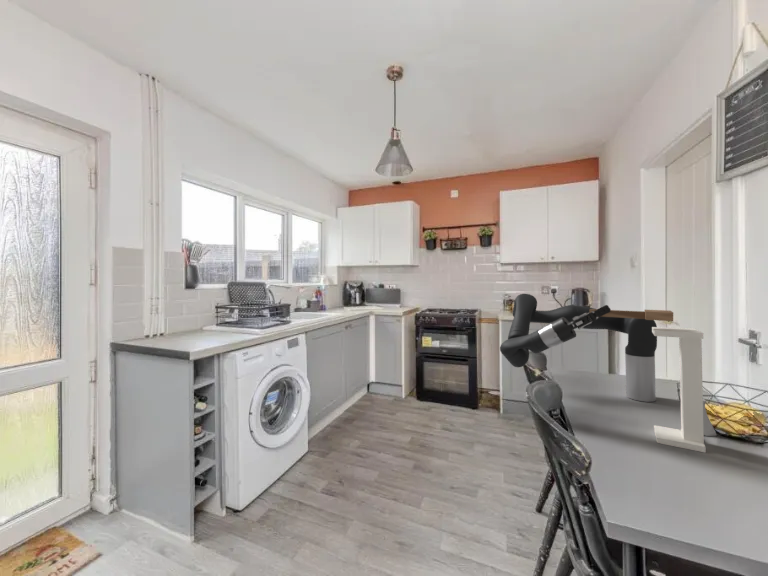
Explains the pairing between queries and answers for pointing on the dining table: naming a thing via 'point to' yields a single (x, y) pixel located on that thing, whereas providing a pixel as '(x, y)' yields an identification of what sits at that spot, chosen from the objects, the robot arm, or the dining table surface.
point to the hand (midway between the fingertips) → (608, 308)
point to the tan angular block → (640, 314)
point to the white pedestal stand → (686, 391)
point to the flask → (707, 423)
